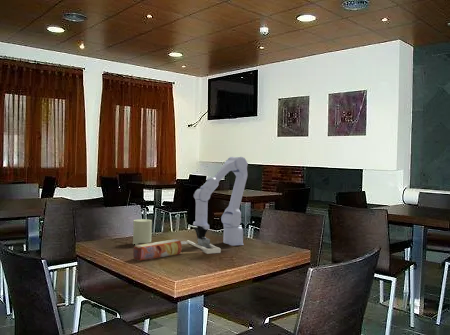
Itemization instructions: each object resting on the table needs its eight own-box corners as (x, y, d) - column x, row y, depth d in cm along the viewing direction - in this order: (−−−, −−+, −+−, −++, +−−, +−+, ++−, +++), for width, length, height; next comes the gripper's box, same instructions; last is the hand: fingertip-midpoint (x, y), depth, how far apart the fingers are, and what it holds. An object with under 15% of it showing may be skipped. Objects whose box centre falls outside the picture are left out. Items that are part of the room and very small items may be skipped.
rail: (198, 243, 215) (199, 239, 215) (220, 252, 194) (220, 248, 194) (186, 244, 212) (186, 240, 212) (207, 253, 190) (207, 249, 190)
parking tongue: (185, 243, 215) (185, 241, 215) (191, 245, 209) (191, 243, 209) (172, 243, 212) (172, 241, 212) (177, 246, 206) (177, 244, 206)
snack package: (140, 262, 172) (140, 245, 172) (131, 259, 177) (132, 243, 177) (182, 255, 187) (182, 240, 187) (173, 253, 192) (173, 237, 192)
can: (147, 245, 206) (147, 220, 206) (129, 244, 208) (130, 220, 208) (154, 242, 215) (154, 218, 215) (137, 241, 217) (137, 217, 217)
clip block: (205, 245, 205) (205, 235, 205) (209, 247, 200) (210, 237, 200) (197, 246, 203) (197, 236, 203) (201, 248, 198) (202, 238, 198)
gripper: (187, 212, 209) (187, 240, 209) (199, 216, 196) (199, 245, 197) (201, 212, 213) (200, 239, 213) (213, 215, 200) (213, 244, 200)
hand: (200, 242), depth 205 cm, fingers closed
